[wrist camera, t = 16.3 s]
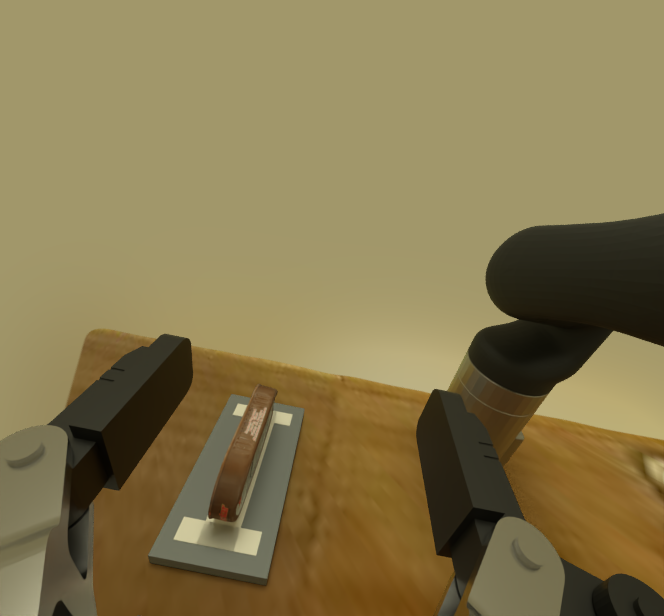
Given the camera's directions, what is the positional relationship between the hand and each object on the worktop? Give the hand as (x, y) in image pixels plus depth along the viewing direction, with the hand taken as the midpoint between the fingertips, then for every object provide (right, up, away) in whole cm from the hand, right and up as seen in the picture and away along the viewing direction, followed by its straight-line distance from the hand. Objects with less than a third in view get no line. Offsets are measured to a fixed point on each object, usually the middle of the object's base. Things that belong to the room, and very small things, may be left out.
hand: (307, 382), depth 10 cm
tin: (-9, -17, +26) cm, 32 cm away
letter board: (-10, -18, +27) cm, 34 cm away
